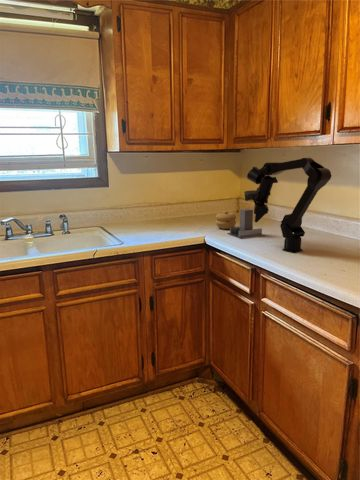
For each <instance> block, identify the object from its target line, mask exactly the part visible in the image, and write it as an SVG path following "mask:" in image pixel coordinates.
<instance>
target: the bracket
mask: <svg viewBox="0 0 360 480" xmlns="http://www.w3.org/2000/svg"><path fill="white" fill-rule="evenodd" d="M239 228H240V226H234V227H233V228H230V229H229V232H227V235H229V236H232V237H235V238H237V239H241V240H244V239H250V238H258V237H265V236H266V235H265V234H264V233H263V229H262V227H261V228H254V226H253V225H252V229H251V230H242V231H239Z"/></svg>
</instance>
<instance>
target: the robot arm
mask: <svg viewBox="0 0 360 480" xmlns="http://www.w3.org/2000/svg"><path fill="white" fill-rule="evenodd" d="M297 169H302V170H303V172H304V174H305V175H306V176H307V183H306V185H307V186H306V187H305V189H304V191H303V192H302V194H301V196H300V198H299V200H298V201H297V203H296V204H295V207H294V208H293V210H292V212H291V213H289V214H285V215H284V216H283V218H282V220H281V221H280V225H279V227H280V230H281V234H282V238H284V240H283V241H284V243H283V248H282V249H281V250H282V251H284V252H285V251H286V252H289V253H293V254H295V253H299V252H303V251H304V250H303V249H302V237H304V236H305V233H306V231H305V230H304V229H303V228H302V223H303V217H304V215H305V214H306V212H307V210H308V208H309V207H310V205H311V203H312V201H313V200H314V199H315V197H316V195H317V194H318V192H319V191H320V190H321V189H322V188H324V187H325V186H326V185H327V183H329V181H330V180H331V179H332V173H331V169H329V168H325V167H324V166H323V165H322V164H321V163H318V162H317V161H315V160H314V159H313V158H311V157H302V158H299V159H294V160H288V161H283V162H281V161H280V162H279V161H277V162H275V161H274V162H273V161H272V162H269V161H268V162H265V163H263V166H262V167H260V168H258V167H257V166H252V168H251V169H250V170H249V171H248V173H247V176H246V178H247V180H249V181H250V182H252V183H254V184H256V185H258V187H257V188H256V190H253V189H252V190H244V193H243V194H244V201H246V202H248V201H253V203H254V206H253V215H255V216H254V223H258V222H260V220H261V219H262V218H263V217H264V216H265V215H266V214H268V213H269V211H270V210H269V205H268V203H269V201H268V200H269V197H271V191H272V189H273V185H274V184H277V183H279V181H278V179H277V177H276V175H277V176H278V175H279V174H282V173H283V172H286V171H292V170H297Z"/></svg>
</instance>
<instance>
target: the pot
mask: <svg viewBox="0 0 360 480" xmlns="http://www.w3.org/2000/svg"><path fill="white" fill-rule="evenodd" d="M215 219H216V220H215V225H216V226H217V227H218V228H219V229H222V230H230V228H235V227H236V225H237V221H236V220H237V216H236V214H235V213H234V212H228V211H227V210H225V211H221V212H218V213H217V214H216V215H215Z"/></svg>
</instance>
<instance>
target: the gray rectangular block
mask: <svg viewBox="0 0 360 480" xmlns="http://www.w3.org/2000/svg"><path fill="white" fill-rule="evenodd" d="M253 217H254V209H251V208H239V227H240V228H239V231H242V230H251V229H252V226H253V222H254V218H253Z"/></svg>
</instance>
